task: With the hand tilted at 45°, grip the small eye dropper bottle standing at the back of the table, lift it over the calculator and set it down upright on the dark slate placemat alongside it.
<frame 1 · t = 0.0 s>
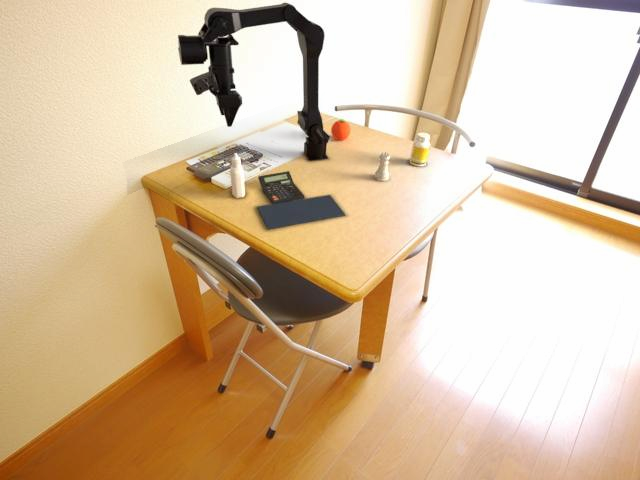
hand: (226, 120, 117), 15 cm above the table, tool pointing down, fingers open, 9 cm apart
rook chess piece: (381, 178, 125), on the table
eye dropper bottle: (238, 193, 113), on the table
calculator: (280, 192, 115), on the table
supplement bottle: (417, 163, 135), on the table
clementine: (340, 139, 148), on the table
placemat: (301, 211, 107), on the table
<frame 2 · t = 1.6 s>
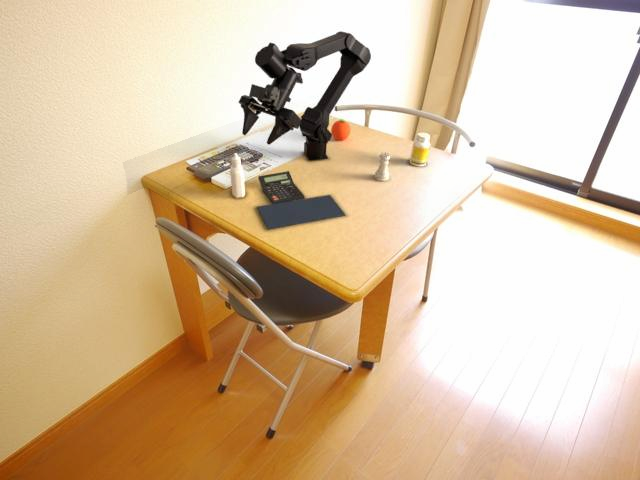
hand: (255, 139, 111), 13 cm above the table, tool tilted 45°, fingers open, 9 cm apart
nothing on the table moved.
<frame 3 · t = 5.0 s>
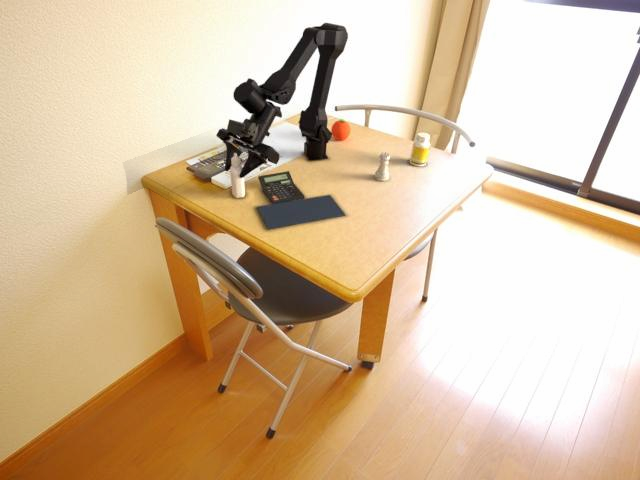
hand: (233, 174, 108), 7 cm above the table, tool tilted 45°, fingers closed on eye dropper bottle, 5 cm apart
eye dropper bottle: (238, 194, 113), on the table, touching gripper
everything else where it was.
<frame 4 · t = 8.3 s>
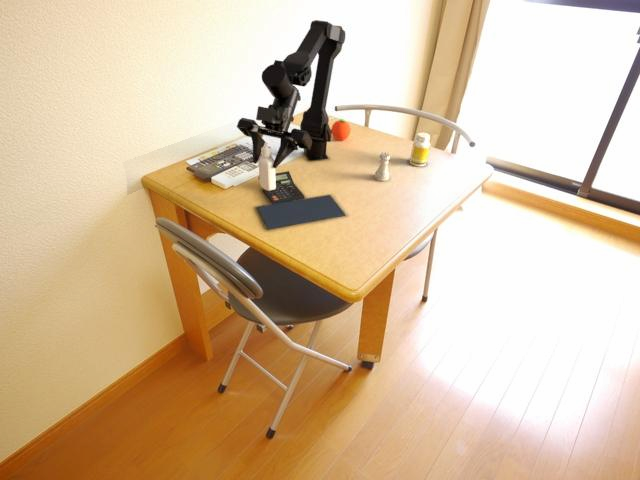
hand: (264, 165, 101), 12 cm above the table, tool tilted 45°, fingers closed on eye dropper bottle, 5 cm apart
eye dropper bottle: (267, 186, 106), point 5 cm above the table, touching gripper
everything else where it was.
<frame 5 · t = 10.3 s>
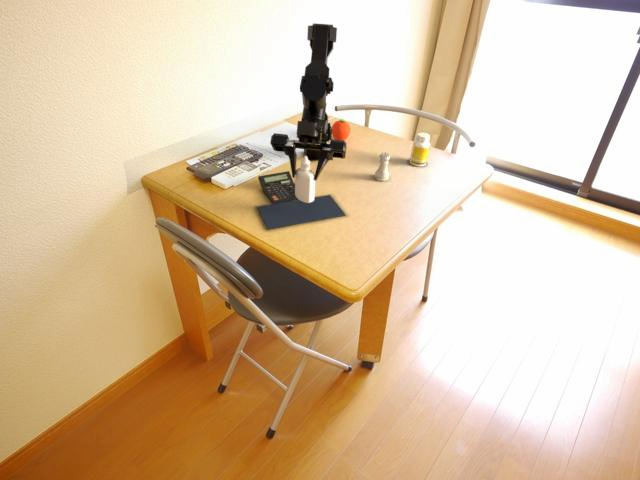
hand: (304, 178, 101), 10 cm above the table, tool tilted 45°, fingers closed on eye dropper bottle, 5 cm apart
eye dropper bottle: (304, 199, 106), point 3 cm above the table, touching gripper
everything else where it was.
when the fingers open (7 cm above the table, at t = 11.6 s): eye dropper bottle stays where it is, resting on placemat.
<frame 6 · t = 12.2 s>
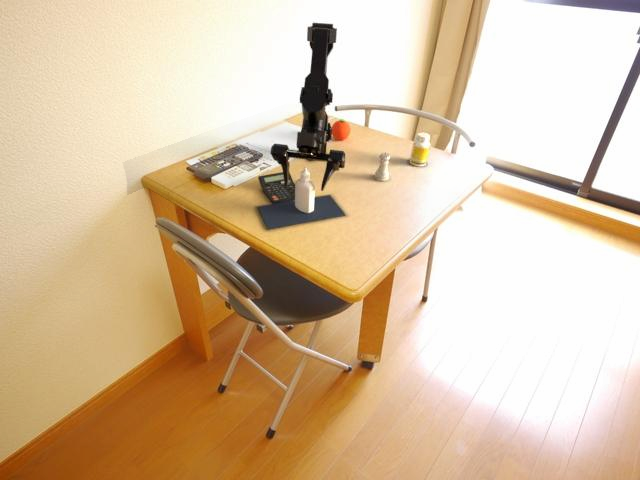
hand: (303, 188, 102), 7 cm above the table, tool tilted 45°, fingers open, 9 cm apart
eye dropper bottle: (304, 209, 108), resting on placemat
everything else where it was.
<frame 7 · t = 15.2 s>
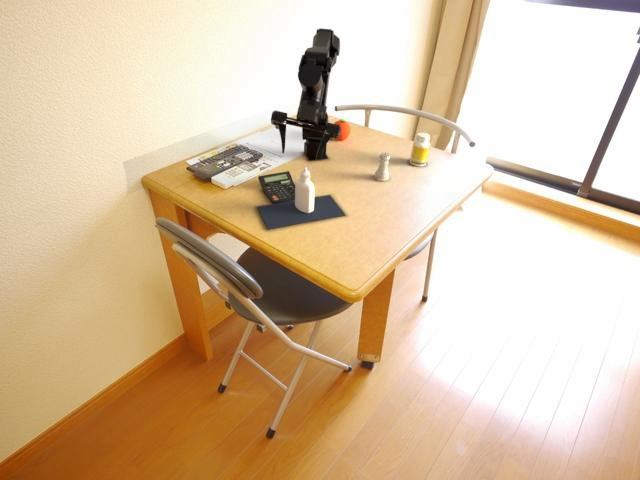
hand: (299, 156, 110), 10 cm above the table, tool tilted 35°, fingers open, 9 cm apart
nothing on the table moved.
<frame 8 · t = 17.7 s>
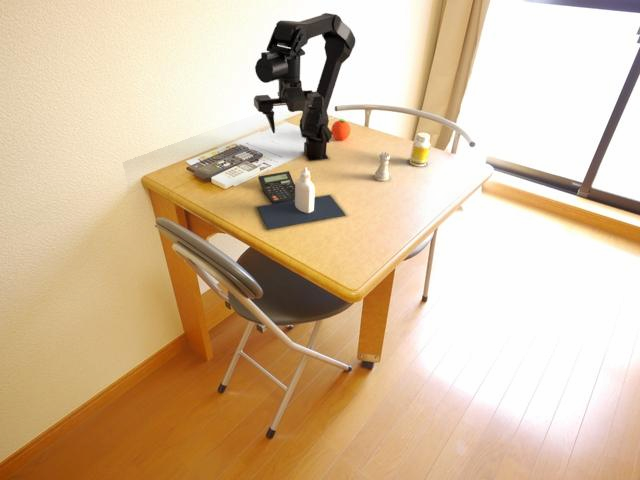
hand: (288, 131, 117), 13 cm above the table, tool pointing down, fingers open, 9 cm apart
nothing on the table moved.
at the end: eye dropper bottle inside the target area on the placemat (1.3 cm from its centre), point 0.2 cm above the placemat's base; eye dropper bottle tilted 0°; eye dropper bottle moved 19.8 cm from its start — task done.
